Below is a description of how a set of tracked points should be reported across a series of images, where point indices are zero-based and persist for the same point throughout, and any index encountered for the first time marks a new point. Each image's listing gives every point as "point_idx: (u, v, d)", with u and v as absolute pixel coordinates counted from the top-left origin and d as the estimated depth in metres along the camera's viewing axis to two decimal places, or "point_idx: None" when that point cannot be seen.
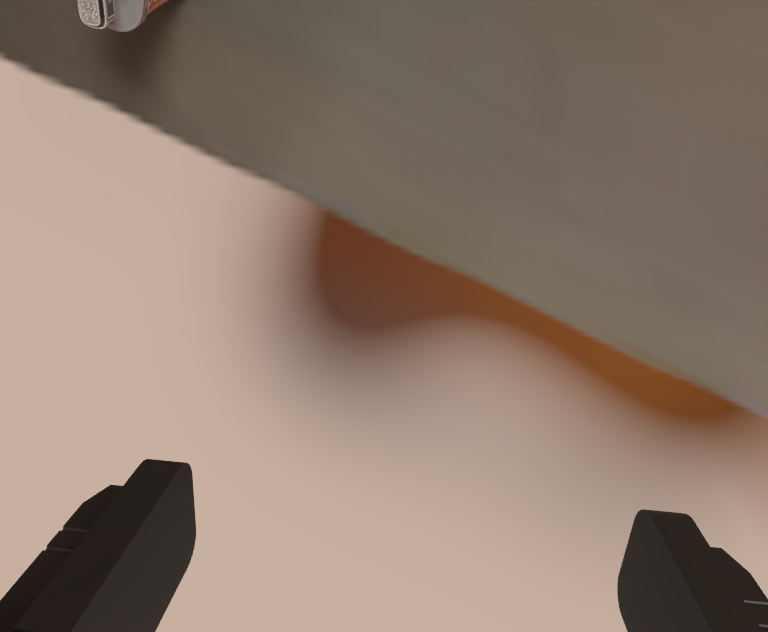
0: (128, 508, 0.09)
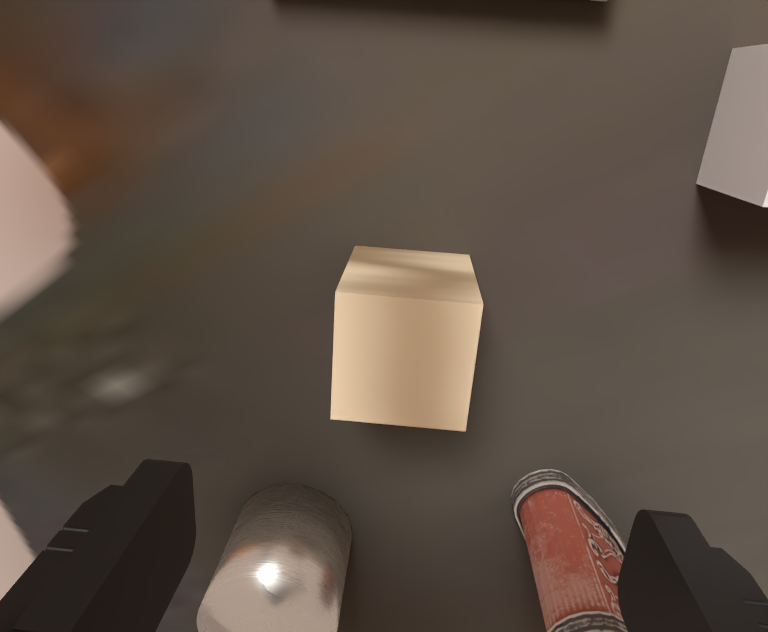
0: (128, 508, 0.09)
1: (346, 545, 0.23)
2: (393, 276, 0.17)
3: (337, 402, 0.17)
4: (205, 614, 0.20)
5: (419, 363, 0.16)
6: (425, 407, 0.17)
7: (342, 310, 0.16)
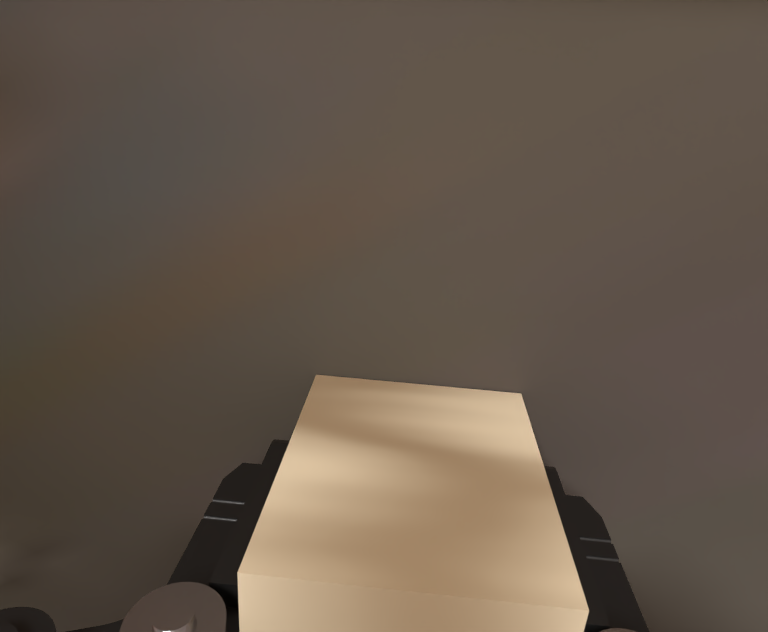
0: None
1: None
2: (378, 486, 0.08)
3: None
4: None
5: None
6: None
7: (256, 608, 0.07)
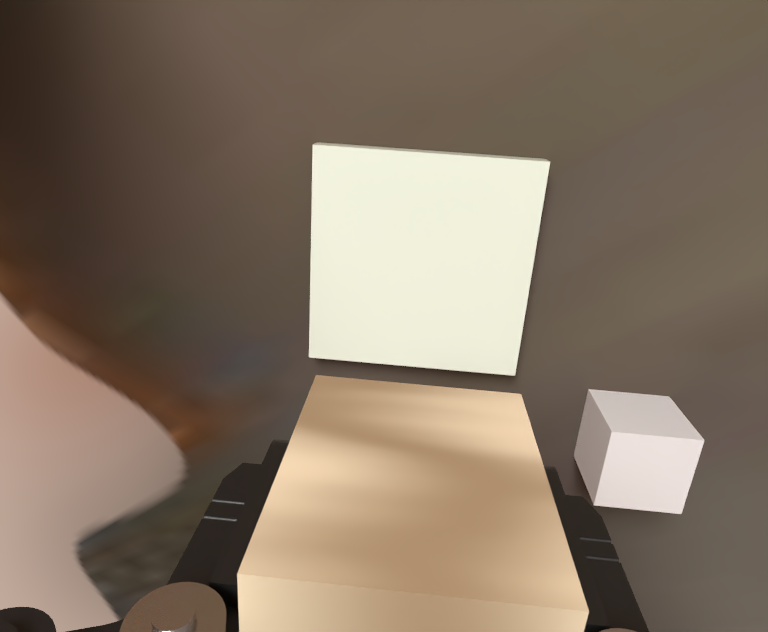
0: None
1: None
2: (377, 487, 0.08)
3: None
4: None
5: None
6: None
7: (256, 609, 0.07)
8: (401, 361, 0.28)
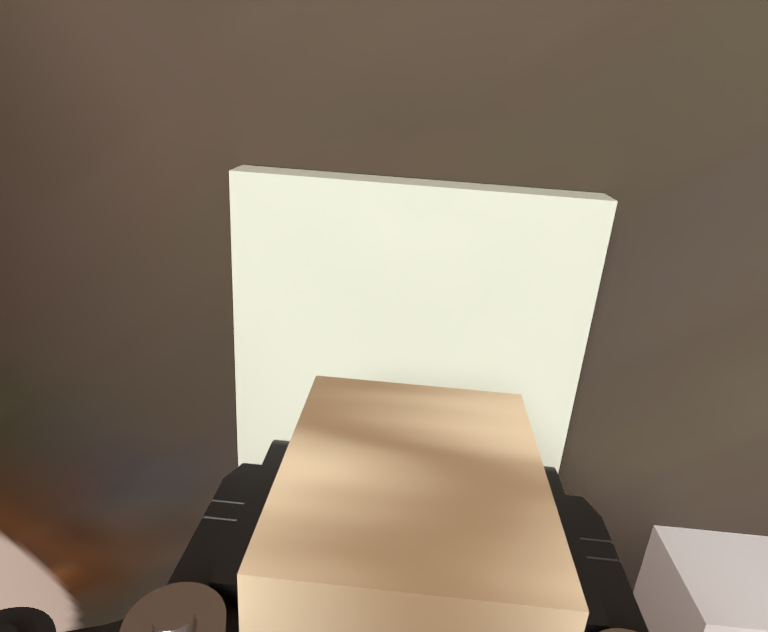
0: None
1: None
2: (377, 487, 0.08)
3: None
4: None
5: None
6: None
7: (256, 610, 0.07)
8: None
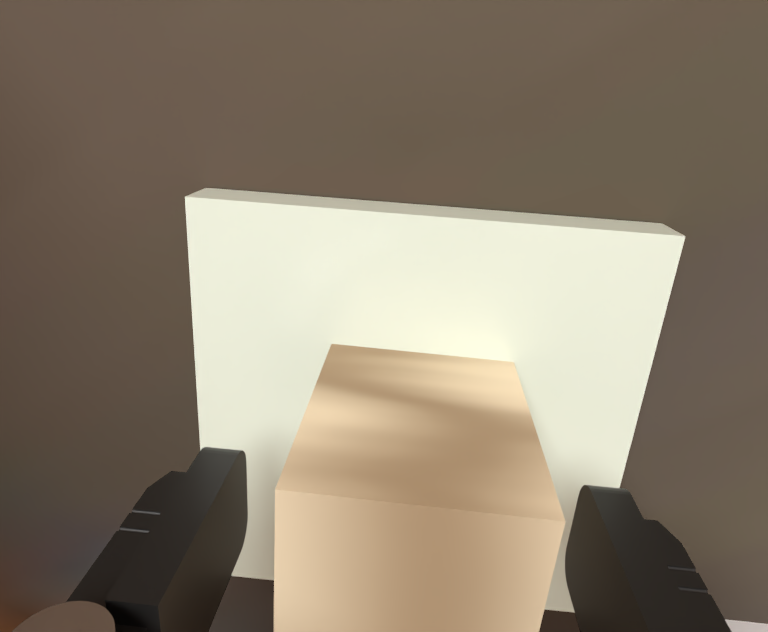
0: (195, 491, 0.09)
1: None
2: (389, 430, 0.10)
3: None
4: None
5: (437, 612, 0.09)
6: None
7: (289, 521, 0.08)
8: None
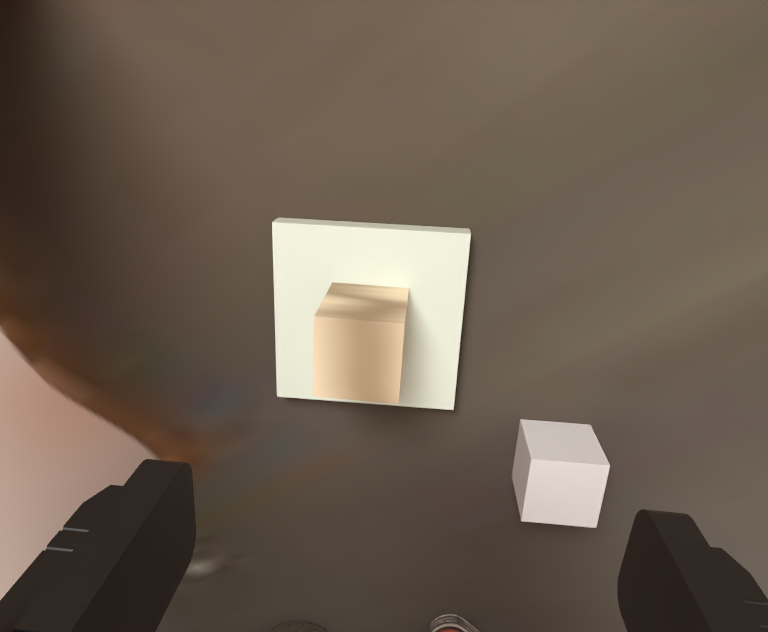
0: (128, 508, 0.09)
1: None
2: (352, 305, 0.27)
3: (317, 385, 0.26)
4: None
5: (367, 360, 0.26)
6: (372, 388, 0.26)
7: (318, 327, 0.25)
8: None
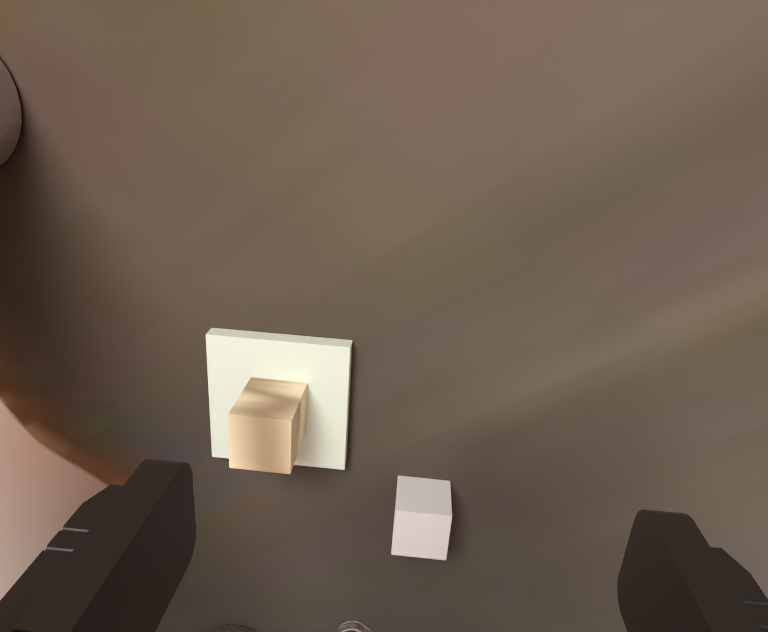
0: (128, 508, 0.09)
1: None
2: (259, 401, 0.37)
3: (232, 460, 0.37)
4: None
5: (267, 444, 0.36)
6: (271, 463, 0.37)
7: (231, 421, 0.36)
8: None
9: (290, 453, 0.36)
